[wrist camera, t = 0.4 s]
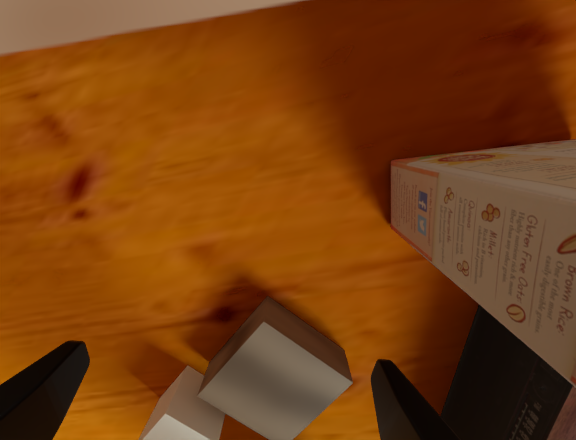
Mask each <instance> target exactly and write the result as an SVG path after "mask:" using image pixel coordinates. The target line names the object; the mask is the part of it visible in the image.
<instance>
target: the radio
mask: <svg viewBox="0 0 576 440" xmlns="http://www.w3.org/2000/svg"><path fill="white" fill-rule="evenodd" d="M440 417H441V418H442V419H443V420H444V421H445V423H446V424H447V425H448V426H449V427H450V428H451V429H452V431H453V432H454V433H455V434H456V435H457V436H458V437H459V439H460V440H576V387H574V386H573V385H572V384H571V383H570V382H569V381H568V380H566V379H565V378H564V377H563V376H562V375H561V374H559V373H558V372H557V371H556V370H555V369H554V368H553V367H551V366H550V365H549V364H548V363H547V362H546V361H545V360H543V359H542V358H541V357H540V356H539V355H538V354H536V353H535V352H534V351H533V350H532V349H531V348H529V347H528V346H527V345H526V344H525V343H524V342H522V341H521V340H520V339H519V338H518V337H517V336H515V335H514V334H513V333H512V332H511V331H510V330H508V329H507V328H506V327H505V326H504V325H503V324H501V323H500V322H499V321H498V320H497V319H496V318H494V317H493V316H492V315H491V314H490V313H489V312H487V311H486V310H485V309H484V308H483V307H482V306H481V305H479V306H478V309H477V312H476V314H475V317H474V320H473V323H472V326H471V329H470V332H469V335H468V338H467V341H466V344H465V346H464V349H463V352H462V355H461V358H460V361H459V364H458V367H457V370H456V373H455V376H454V378H453V381H452V384H451V387H450V390H449V393H448V396H447V399H446V402H445V405H444V408H443V410H442V413H441V416H440Z"/></svg>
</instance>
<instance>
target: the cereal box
mask: <svg viewBox="0 0 576 440" xmlns="http://www.w3.org/2000/svg"><path fill="white" fill-rule="evenodd" d="M391 229H393V230H394V231H395V232H396V233H397V234H399V235H400V236H401V237H402V238H403V239H404V240H405V241H407V242H408V243H409V244H410V245H411V246H412V247H413V248H414V249H416V250H417V251H418V252H419V253H420V254H421V255H423V256H424V257H425V258H426V259H427V260H428V261H430V262H431V263H432V264H433V265H434V266H435V267H437V268H438V269H439V270H440V271H441V272H442V273H443V274H445V275H446V276H447V277H448V278H449V279H450V280H452V281H453V282H454V283H455V284H456V285H457V286H459V287H460V288H461V289H462V290H463V291H464V292H466V293H467V294H468V295H469V296H470V297H471V298H472V299H474V300H475V301H476V302H477V303H478V304H479V305H481V306H482V307H483V308H484V309H485V310H486V311H487V312H489V313H490V314H491V315H492V316H493V317H494V318H496V319H497V320H498V321H499V322H500V323H501V324H503V325H504V326H505V327H506V328H507V329H508V330H510V331H511V332H512V333H513V334H514V335H515V336H517V337H518V338H519V339H520V340H521V341H522V342H524V343H525V344H526V345H527V346H528V347H529V348H531V349H532V350H533V351H534V352H535V353H536V354H538V355H539V356H540V357H541V358H542V359H543V360H545V361H546V362H547V363H548V364H549V365H550V366H551V367H553V368H554V369H555V370H556V371H557V372H558V373H559V374H561V375H562V376H563V377H564V378H565V379H566V380H568V381H569V382H570V383H571V384H572V385H573V386H574V387H576V139H571V140H563V141H553V142H544V143H535V144H527V145H518V146H509V147H501V148H492V149H483V150H474V151H466V152H457V153H449V154H440V155H431V156H422V157H414V158H405V159H397V160H392V161H391Z"/></svg>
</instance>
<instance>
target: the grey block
mask: <svg viewBox="0 0 576 440" xmlns="http://www.w3.org/2000/svg"><path fill="white" fill-rule="evenodd" d="M352 383H353V381H352V377H351V373H350V370H349V366H348V362H347V358H346V355H345V351H344V350H343V349H342V348H340V347H339V346H338V345H336V344H335V343H333V342H332V341H331V340H329V339H328V338H326V337H325V336H323V335H322V334H321V333H319V332H318V331H316V330H315V329H314V328H312V327H311V326H309V325H308V324H307V323H305V322H304V321H302V320H301V319H299V318H298V317H297V316H295V315H294V314H292V313H291V312H290V311H288V310H287V309H285V308H284V307H282V306H281V305H280V304H278V303H277V302H275V301H274V300H273V299H271V298H270V297H268V296H267V297H266V298H265V299H264V300H263V302H262V303H261V304H260V305H259V306H258V307H257V308H256V310H255V311H254V312H253V313H252V314H251V315H250V317H249V318H248V319H247V320H246V321H245V322H244V323H243V325H242V326H241V327H240V328H239V329H238V330H237V331H236V333H235V334H234V335H233V336H232V337H231V338H230V339H229V341H228V342H227V343H226V344H225V345H224V346H223V347H222V349H221V350H220V351H219V352H218V353H217V354H216V355H215V357H214V358H213V359H212V360H211V361H210V362H209V365H208V368H207V370H206V373H205V376H204V379H203V381H202V384H201V387H200V389H199V392H198V395H197V396H198V397H199V398H201V399H203V400H204V401H206V402H208V403H209V404H211V405H212V406H214V407H216V408H217V409H219V410H221V411H222V412H224V413H226V414H227V415H229V416H231V417H232V418H234V419H236V420H237V421H239V422H241V423H242V424H244V425H246V426H247V427H249V428H250V429H252V430H254V431H255V432H257V433H259V434H260V435H262V436H264V437H265V438H267V439H269V440H293V439H294V438H295V437H296V436H297V435H298V434H299V433H300V432H301V431H302V430H303V429H304V428H306V427H307V426H308V425H309V424H310V423H311V422H312V421H313V420H314V419H315V418H316V417H317V416H318V415H319V414H320V413H321V412H322V411H324V410H325V409H326V408H327V407H328V406H329V405H330V404H331V403H332V402H333V401H334V400H335V399H336V398H337V397H338V396H339V395H341V394H342V393H343V392H344V391H345V390H346V389H347V388H348V387H349V386H350V385H351V384H352Z"/></svg>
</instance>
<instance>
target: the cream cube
mask: <svg viewBox="0 0 576 440" xmlns="http://www.w3.org/2000/svg"><path fill="white" fill-rule="evenodd" d="M203 379H204V375H202V374H201V373H199V372H198V371H196V370H194V369H193V368H191V367H190V366H187V367H186V368H185V369H184V370H183V371H182V373H181V374H180V375H179V376H178V377H177V378H176V380H175V381H174V382H173V383H172V384H171V386H170V387H169V388H168V389H167V390H166V391H165V393H164V394H163V395H162V396H161V397H160V399H159V401H158V403H157V405H156V406H155V408H154V410H153V412H152V414H151V416H150V418H149V420H148V422H147V424H146V426H145V428H144V430H143V432H142V434H141V436H140V438H139V440H219V438H220V434H221V430H222V426H223V422H224V417H225V413H224V412H222V411H221V410H219V409H217V408H216V407H214V406H212V405H211V404H209V403H208V402H206V401H204V400H203V399H201V398H199V397H198V396H197V395H198V392H199V389H200V387H201V384H202V381H203Z"/></svg>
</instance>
